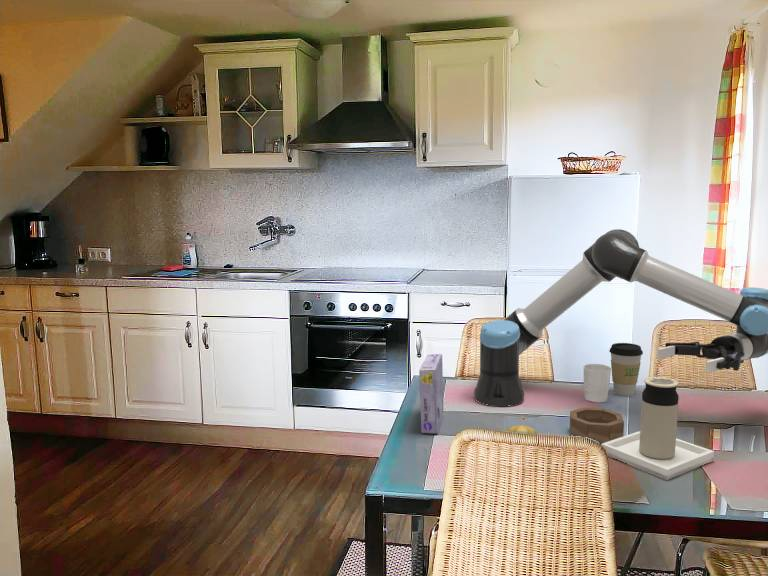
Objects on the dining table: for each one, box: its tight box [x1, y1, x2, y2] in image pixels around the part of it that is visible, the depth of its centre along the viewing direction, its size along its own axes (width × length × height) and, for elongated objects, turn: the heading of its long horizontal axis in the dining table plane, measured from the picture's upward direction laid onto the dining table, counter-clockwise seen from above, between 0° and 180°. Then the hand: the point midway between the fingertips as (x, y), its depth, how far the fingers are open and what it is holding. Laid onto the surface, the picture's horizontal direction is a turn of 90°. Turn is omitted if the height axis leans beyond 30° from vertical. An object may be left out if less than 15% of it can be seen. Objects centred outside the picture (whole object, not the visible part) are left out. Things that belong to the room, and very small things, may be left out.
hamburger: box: [506, 415, 538, 434], centre depth 155 cm, size 8×7×12 cm
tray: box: [600, 430, 715, 481], centre depth 161 cm, size 18×18×2 cm
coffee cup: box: [609, 342, 644, 397], centre depth 209 cm, size 10×10×15 cm
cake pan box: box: [418, 353, 445, 435], centre depth 185 cm, size 19×5×18 cm, turn 169°
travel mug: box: [639, 376, 680, 459], centre depth 160 cm, size 8×8×18 cm
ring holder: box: [569, 407, 625, 443], centre depth 176 cm, size 13×13×5 cm
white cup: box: [583, 363, 612, 403], centre depth 203 cm, size 8×8×10 cm
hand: (681, 360), depth 168 cm, fingers open, 13 cm apart
